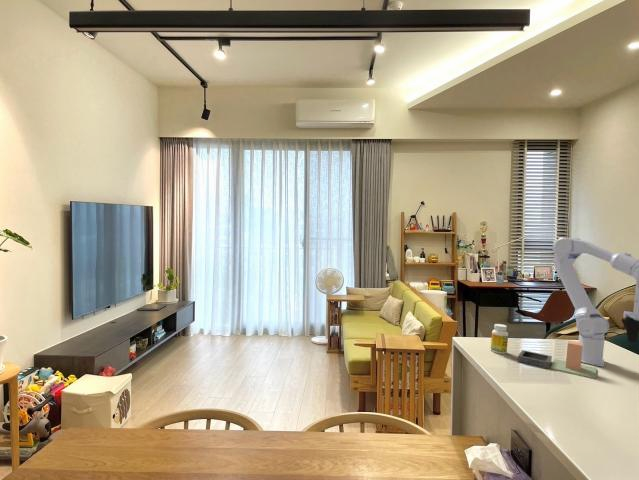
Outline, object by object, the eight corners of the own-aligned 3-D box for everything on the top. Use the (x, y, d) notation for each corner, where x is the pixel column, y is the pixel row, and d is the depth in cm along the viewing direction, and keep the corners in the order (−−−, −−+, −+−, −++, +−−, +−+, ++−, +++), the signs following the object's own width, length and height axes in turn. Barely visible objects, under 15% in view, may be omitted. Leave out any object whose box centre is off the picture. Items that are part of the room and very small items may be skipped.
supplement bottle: (494, 348, 147) (496, 322, 146) (509, 352, 143) (511, 325, 143) (487, 351, 143) (490, 324, 143) (503, 355, 139) (505, 327, 139)
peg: (566, 364, 132) (568, 340, 132) (580, 367, 130) (582, 343, 129) (565, 367, 129) (567, 343, 128) (580, 370, 126) (582, 345, 126)
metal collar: (521, 355, 140) (522, 350, 140) (551, 362, 135) (551, 356, 135) (517, 361, 133) (518, 355, 133) (548, 368, 127) (549, 362, 127)
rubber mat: (554, 359, 137) (554, 358, 137) (596, 369, 131) (596, 367, 131) (550, 368, 128) (550, 367, 128) (596, 379, 121) (596, 377, 121)
